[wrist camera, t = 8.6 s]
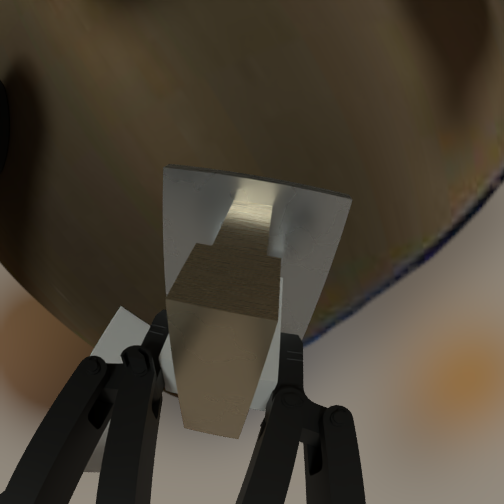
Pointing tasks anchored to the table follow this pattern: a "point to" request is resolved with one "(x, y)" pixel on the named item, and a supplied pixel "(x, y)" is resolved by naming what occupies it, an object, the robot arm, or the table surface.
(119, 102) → the table surface
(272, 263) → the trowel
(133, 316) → the milk
